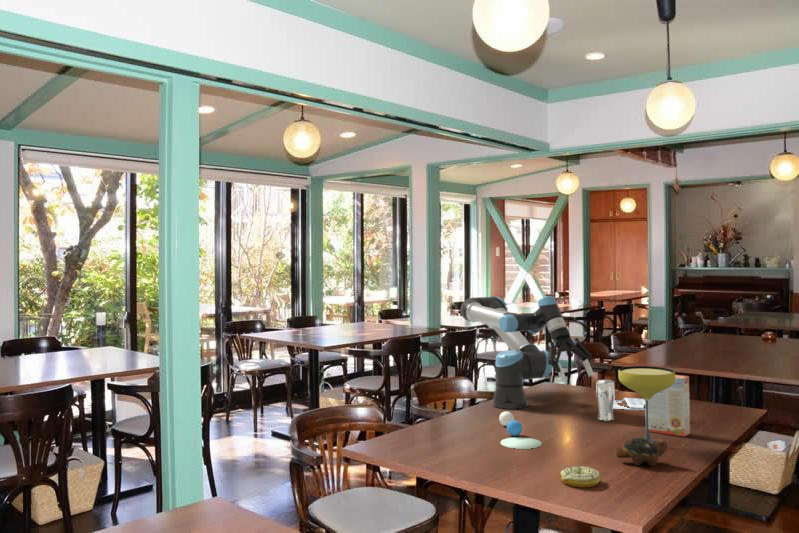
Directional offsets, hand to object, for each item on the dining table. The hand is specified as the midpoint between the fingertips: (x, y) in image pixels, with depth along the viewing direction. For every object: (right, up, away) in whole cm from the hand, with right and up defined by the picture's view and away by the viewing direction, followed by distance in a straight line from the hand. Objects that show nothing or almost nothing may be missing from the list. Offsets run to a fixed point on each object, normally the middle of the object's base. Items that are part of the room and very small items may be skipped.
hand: (577, 377), depth 263 cm
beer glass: (+9, -15, -8) cm, 19 cm away
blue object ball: (-31, -13, -29) cm, 44 cm away
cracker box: (+24, -15, -29) cm, 41 cm away
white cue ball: (-31, -13, -15) cm, 37 cm away
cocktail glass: (+12, -16, -43) cm, 47 cm away
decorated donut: (-21, -17, -79) cm, 83 cm away
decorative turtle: (+2, -16, -63) cm, 65 cm away
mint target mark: (-30, -16, -39) cm, 52 cm away
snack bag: (+26, -16, +16) cm, 34 cm away
